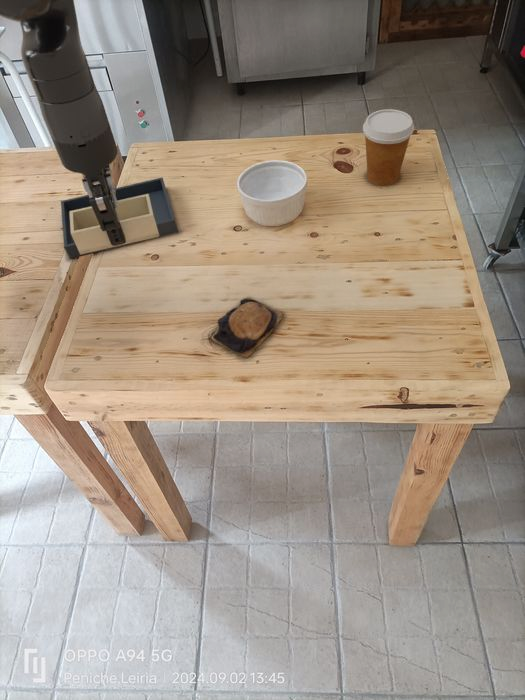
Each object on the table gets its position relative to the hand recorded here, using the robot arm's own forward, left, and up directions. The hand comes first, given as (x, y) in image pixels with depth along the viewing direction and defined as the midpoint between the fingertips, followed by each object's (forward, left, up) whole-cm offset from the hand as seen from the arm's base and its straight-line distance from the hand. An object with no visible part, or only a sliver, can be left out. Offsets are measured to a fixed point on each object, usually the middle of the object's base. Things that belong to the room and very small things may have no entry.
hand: (117, 230), depth 81 cm
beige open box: (0, 0, -1) cm, 1 cm away
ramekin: (+29, +15, -15) cm, 36 cm away
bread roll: (+16, -13, -15) cm, 25 cm away
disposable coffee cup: (+53, +17, -15) cm, 57 cm away
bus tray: (-1, +23, -15) cm, 28 cm away
